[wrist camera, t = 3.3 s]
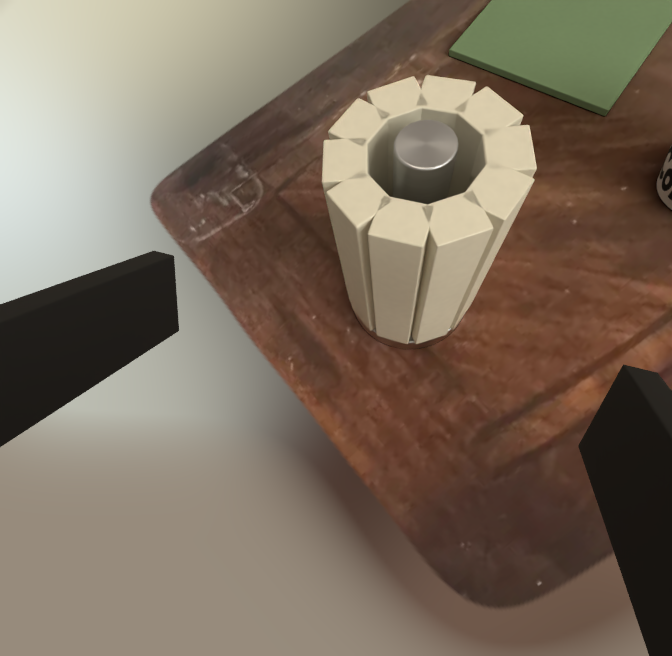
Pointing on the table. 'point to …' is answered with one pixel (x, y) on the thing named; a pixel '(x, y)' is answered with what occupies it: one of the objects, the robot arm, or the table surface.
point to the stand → (421, 181)
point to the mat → (566, 45)
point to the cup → (666, 180)
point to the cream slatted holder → (423, 219)
